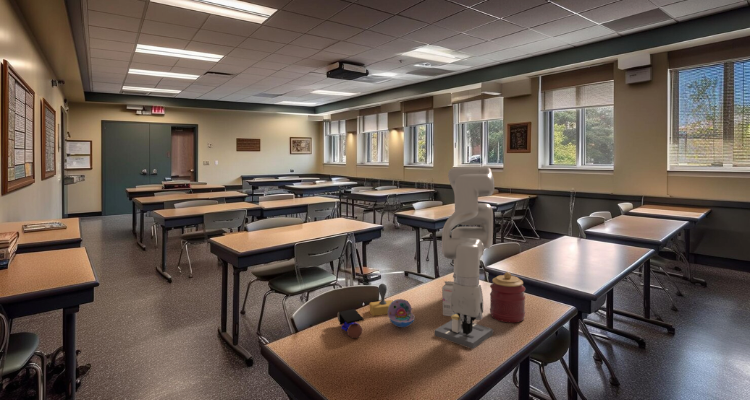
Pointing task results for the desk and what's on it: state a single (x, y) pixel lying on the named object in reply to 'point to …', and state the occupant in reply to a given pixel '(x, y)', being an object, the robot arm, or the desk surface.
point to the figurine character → (350, 322)
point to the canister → (507, 299)
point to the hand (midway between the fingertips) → (467, 332)
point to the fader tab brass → (456, 323)
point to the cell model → (400, 313)
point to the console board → (469, 340)
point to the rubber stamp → (380, 303)
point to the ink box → (447, 298)
